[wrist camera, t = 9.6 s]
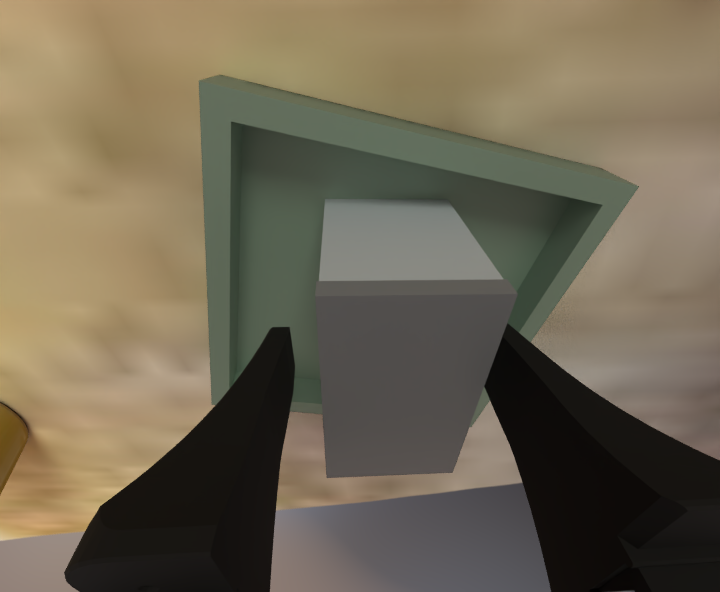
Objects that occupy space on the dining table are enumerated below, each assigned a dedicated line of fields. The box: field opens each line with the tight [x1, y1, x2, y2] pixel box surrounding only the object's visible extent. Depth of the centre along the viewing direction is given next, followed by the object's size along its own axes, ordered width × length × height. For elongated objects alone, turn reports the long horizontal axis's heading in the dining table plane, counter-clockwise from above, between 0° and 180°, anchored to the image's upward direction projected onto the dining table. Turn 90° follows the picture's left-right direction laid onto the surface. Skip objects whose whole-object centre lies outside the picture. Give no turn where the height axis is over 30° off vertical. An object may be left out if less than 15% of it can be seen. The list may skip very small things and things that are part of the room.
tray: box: [199, 75, 639, 427], centre depth 15 cm, size 14×14×2 cm
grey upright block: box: [315, 199, 518, 478], centre depth 13 cm, size 5×8×6 cm, turn 178°
